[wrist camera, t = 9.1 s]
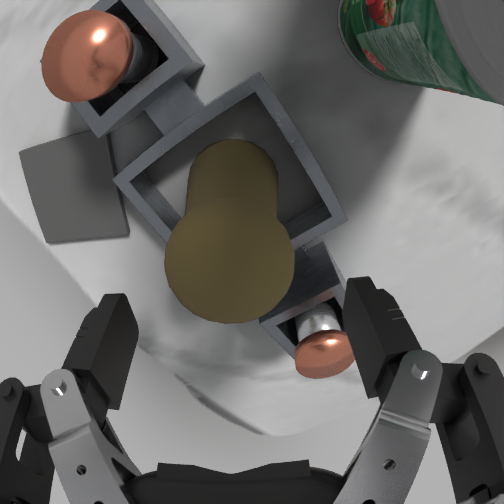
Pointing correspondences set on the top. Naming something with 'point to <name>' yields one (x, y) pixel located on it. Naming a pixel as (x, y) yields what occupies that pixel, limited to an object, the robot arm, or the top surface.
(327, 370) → the plunger
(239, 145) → the cork
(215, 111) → the housing
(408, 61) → the canned tomato
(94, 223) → the pad
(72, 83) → the plunger
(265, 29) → the top surface
